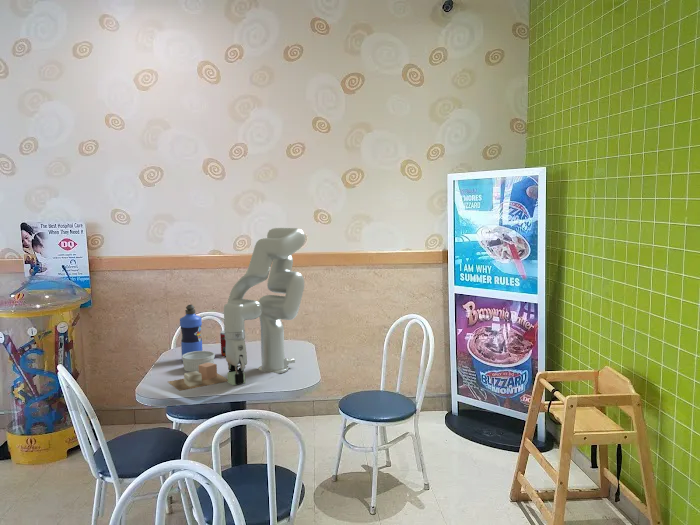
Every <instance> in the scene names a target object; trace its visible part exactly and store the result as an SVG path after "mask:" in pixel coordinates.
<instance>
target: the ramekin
mask: <svg viewBox="0 0 700 525" xmlns="http://www.w3.org/2000/svg"><path fill="white" fill-rule="evenodd" d="M182 360H183V362H182V364H183V369H184V371H187V372H188V373H189V372H194V371H197V372H199V366H198V365H201V364H205V363H208V362H209V363H213V364H215V363H214V362H215V352H214V351H210V350H202V351H194V352H189V353H186V354H184V355H183V356H182V355H181V361H182Z"/></svg>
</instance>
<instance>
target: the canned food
mask: <svg viewBox="0 0 700 525" xmlns="http://www.w3.org/2000/svg"><path fill="white" fill-rule="evenodd" d="M219 333H220V335H219V336H220V352H221V354H220V355H221V356H222V357H223V356H226V340H225V330H221V331H220V332H219Z"/></svg>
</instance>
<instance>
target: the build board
mask: <svg viewBox="0 0 700 525" xmlns="http://www.w3.org/2000/svg"><path fill="white" fill-rule="evenodd" d="M183 376H184V377H183V378H180V379H174V380H170V381H167V383H168V384H169V385H171V386H172V387H173V388H175V389H176V390H178V391H186V390H193V389H196V388H201V387H207V386H212V385H217V384H221V383H222V384H223V383H225V382H227V383H228V378H226V377H225V376H223V375H221V374H219V373H218V372H217V377H214V378H211V379H208V380H206V379H203V378H202V374H201V373H199V372H197V371H194V372H189V371H188V372H185V373H183Z"/></svg>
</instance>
